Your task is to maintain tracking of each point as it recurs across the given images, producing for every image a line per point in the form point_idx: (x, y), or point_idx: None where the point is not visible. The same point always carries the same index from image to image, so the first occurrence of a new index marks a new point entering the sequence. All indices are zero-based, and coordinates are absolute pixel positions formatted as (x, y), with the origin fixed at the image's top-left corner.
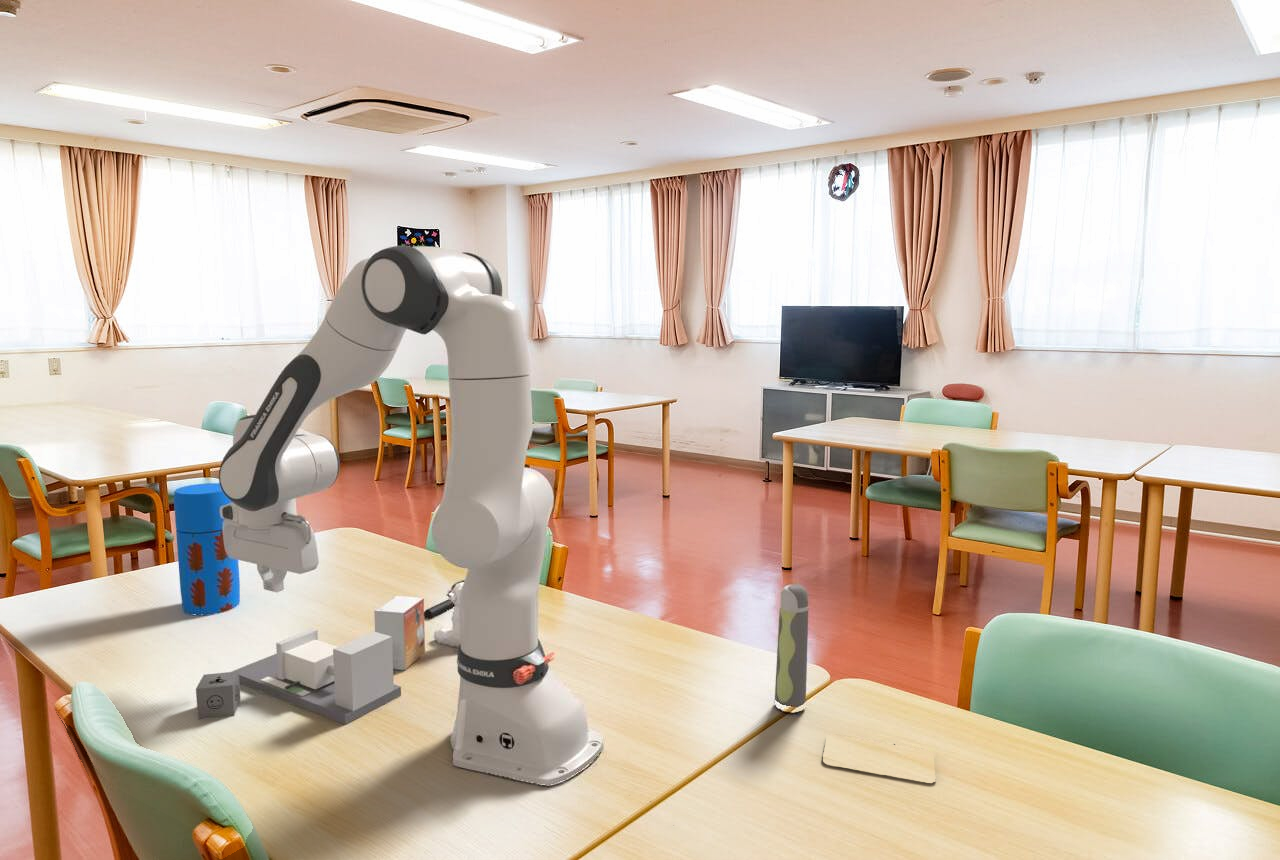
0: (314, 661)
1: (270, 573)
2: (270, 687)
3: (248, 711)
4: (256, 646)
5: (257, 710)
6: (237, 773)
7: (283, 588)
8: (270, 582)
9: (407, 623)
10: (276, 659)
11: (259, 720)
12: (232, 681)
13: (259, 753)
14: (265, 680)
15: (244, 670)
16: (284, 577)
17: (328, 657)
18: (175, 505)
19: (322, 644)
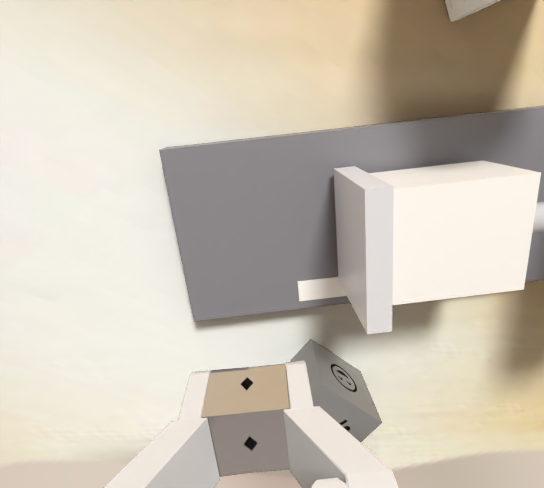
0: (517, 284)
1: (180, 467)
2: (349, 301)
3: (368, 349)
4: (15, 168)
5: (380, 337)
6: (533, 438)
7: (305, 363)
8: (280, 468)
9: None
10: (210, 215)
11: (419, 352)
12: (365, 415)
13: (517, 398)
14: (312, 296)
15: (213, 299)
16: (336, 422)
17: (528, 239)
18: None
19: (437, 198)
